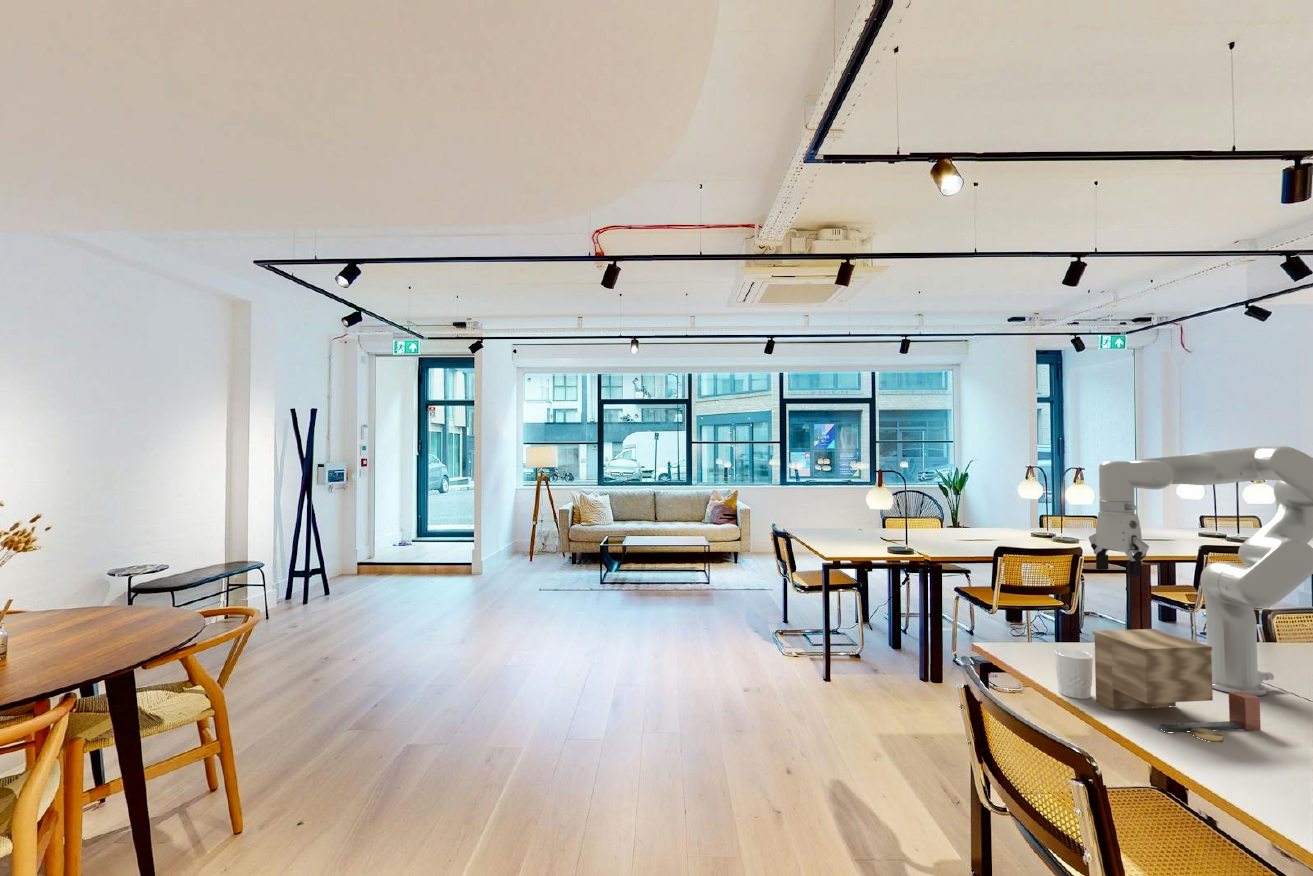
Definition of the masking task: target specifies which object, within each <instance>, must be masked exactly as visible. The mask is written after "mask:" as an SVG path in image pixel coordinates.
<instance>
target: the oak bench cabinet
mask: <svg viewBox="0 0 1313 876" xmlns="http://www.w3.org/2000/svg"><path fill="white" fill-rule="evenodd" d="M1093 635H1094V668H1095V669H1094V670H1095V676H1094V677H1095V702H1096V703H1098V704H1100V705H1103V706H1104V705H1105V706H1104V707H1106V706H1107V707H1106V708H1108V707H1109V708H1108V709H1110V708H1111V709H1110V710H1112V711H1116V710H1117V711H1118V710H1119V711H1120V709H1123V710H1138V708H1145V709H1160V708H1159V707H1167V708H1170V707H1169V706H1176V705H1177V704H1176V703H1185V702H1186V703H1187V702H1207V701H1213V699H1214V698H1213V697H1214V695H1213V693H1214V692H1213V688H1212V656H1211V650H1212V647H1211V646H1208V645H1207V644H1204V643H1201V642H1198V641H1195V640H1192V639H1188V638H1185V637H1183V636H1182V637H1181V636H1178V635H1176V634H1173V633H1168V632H1165V631H1163V630H1159V629H1157V628H1144V629H1139V628H1137V629H1113V630H1112V629H1110V630H1109V629H1108V630H1104V629H1103V630H1092V636H1093ZM1152 707H1153V708H1152ZM1155 707H1157V708H1155ZM1176 707H1177V706H1176Z"/></svg>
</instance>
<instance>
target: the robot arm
mask: <svg viewBox="0 0 1313 876" xmlns="http://www.w3.org/2000/svg"><path fill="white" fill-rule="evenodd" d="M1253 481H1254V482H1255V481H1275V482H1274V486H1273V494H1274V498H1275V503H1276V510H1275V513H1274V515H1273V516H1272V517H1271V518H1270V519H1269V520H1268V521H1267V522H1266V523H1265V524H1264V525H1263V526H1261V527H1260V528H1259V529H1258V530H1257V531H1256V532H1254V533H1253V534H1252V535H1251V536H1250V537H1249V538H1247V539H1246V540H1245V541H1244V542H1243V543H1242V544H1241V545H1240V546H1239V548H1238V552H1237V554H1238V555H1237V556H1238V558H1239V560H1240V562H1241V563H1242V564H1238V563H1235V562H1230V561H1229V562H1228V561H1217V562H1216V561H1215V562H1211V563H1210V564H1208V565H1206V566H1205V567H1204V569H1203V570H1202V571H1201V574H1200V585H1201V591H1202V594H1203V598H1204V605H1205V617H1206V618H1205V621H1206V622H1205V623H1206V624H1205V626H1206V630H1205V632H1206V645H1208V646H1211V647H1212V650H1211V656H1212V689H1214V690H1218V691H1220V692H1226V693H1229V692H1246V693H1249V694H1251V695H1254V696H1257V697H1259V696H1265V695H1267V693H1268V688H1267V687H1266V686H1265V685H1263V684H1262V682H1263V681H1272V680H1274V679H1275V676H1274V674H1273V673H1272V672H1270V671H1268V672H1264V671H1262V672H1261V671H1259V670H1258V669H1259V667H1258V638H1257V637H1258V635H1257V629H1258V627H1257V618H1256V613H1255V610H1254V609H1266V608H1267V609H1268V608H1270V607H1272V606H1275V605H1276V604H1279V603H1280V602H1281V601H1282V600H1283V599H1285V598H1286V597H1287V596H1288V595H1290V594H1291V593H1292V592H1293V591H1294V590H1295V589H1297V588H1298V587H1299V586H1301V584H1303V583H1304V582H1306V580H1308V579H1309V578H1310V577H1311V576H1312V575H1313V547H1312V546H1311V545H1310V544H1309V542H1310V541H1312V539H1313V457H1312V456H1310V455H1308V454H1306V453H1304V452H1303V451H1301V450H1299V449H1296V448H1294V447H1290V446H1286V445H1285V446H1284V445H1283V446H1253V447H1244V448H1242V447H1241V448H1235V449H1226V450H1225V449H1224V450H1216V451H1214V450H1213V451H1205V452H1195V453H1194V452H1193V453H1188V454H1180V455H1174V456H1173V455H1172V456H1162V457H1152V458H1151V457H1150V458H1141V459H1134V460H1133V459H1132V460H1130V461H1127V460H1126V461H1125V460H1109V461H1108V460H1107V461H1106V460H1105V461H1102V462H1100V463H1099V465H1098V489H1099V493H1098V494H1099V495H1098V497H1099V502H1098V503H1099V511H1098V513H1097V518H1096V526H1095V527H1096V528H1095V533H1094V534H1092V535H1090V536H1088V540H1089V541H1088V542H1089V543H1090V547H1091V548H1092V550H1093V553H1094V555H1095V568H1096V570H1098V571H1099V570H1101V571H1104V570H1106V571H1107V570H1109V554H1107V553H1108V552H1109V551H1112V552H1113V551H1115V552H1119V553H1124V554H1125V555H1126V557H1127V558H1128V559H1129V560H1127V563H1126V564H1127V565H1126V566H1127V567H1126V568H1127V576H1128V577H1131V578H1133V577H1141V575H1142V574H1141V573H1142V571H1141V569H1142V567H1141V562H1142V561H1144V558H1145V557H1146V556H1147V553H1148V550H1149V549H1150V546H1149V545H1148V543H1146V542H1144V541H1143V538H1142V529H1141V524H1140V519H1139V514H1136V512H1135V511H1136V510H1137V505H1135V504H1136V502H1135V500H1136V499H1135V489H1144V490H1161V489H1165V488H1167V487H1169V486H1170V485H1192V486H1193V485H1194V486H1209V485H1210V486H1214V485H1223V484H1224V485H1225V484H1233V483H1244V482H1253ZM1243 564H1244V565H1243Z"/></svg>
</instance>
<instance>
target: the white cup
mask: <svg viewBox="0 0 1313 876" xmlns="http://www.w3.org/2000/svg"><path fill="white" fill-rule="evenodd" d="M1093 658H1094V656H1093V655H1092V654H1091V653H1089V652H1086V651H1083V650H1078V649H1073V648H1057V649H1055V650H1054V659H1055V660H1054V661H1055V671H1056V680H1057V689H1058V693H1060V694H1061V695H1063V696H1065V697H1068V698H1072V699H1077V700H1078V699H1079V700H1087V699H1091V697H1092V687H1093V686H1092V685H1093V684H1092V683H1093V666H1094V665H1093V663H1094V661H1093V660H1094V659H1093Z"/></svg>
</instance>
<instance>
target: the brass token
mask: <svg viewBox="0 0 1313 876" xmlns="http://www.w3.org/2000/svg"><path fill="white" fill-rule="evenodd" d="M1190 734H1192V735H1194V736H1195V737H1198V738H1200V739H1203V740H1206V741H1205V742H1207V741H1210V742H1209V743H1213V742H1220V743H1222V742H1223V739H1224V738H1223V737H1224V736H1223V735H1222V734H1221V733H1219V731H1213V730H1209V729H1204V728H1192V729H1191V732H1190ZM1192 735H1191V736H1192ZM1195 737H1194V738H1195ZM1200 739H1199V740H1200ZM1203 740H1202V741H1203Z"/></svg>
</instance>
